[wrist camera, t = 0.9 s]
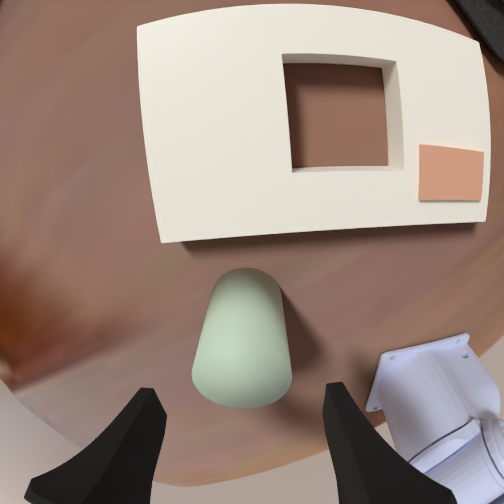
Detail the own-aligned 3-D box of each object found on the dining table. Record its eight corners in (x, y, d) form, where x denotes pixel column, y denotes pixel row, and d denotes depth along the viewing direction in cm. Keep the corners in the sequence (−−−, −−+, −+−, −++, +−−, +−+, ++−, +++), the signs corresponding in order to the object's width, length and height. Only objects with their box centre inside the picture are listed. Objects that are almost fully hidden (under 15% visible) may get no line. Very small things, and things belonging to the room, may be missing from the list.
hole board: (461, 46, 11) (481, 41, 9) (468, 212, 16) (487, 223, 14) (149, 36, 12) (134, 24, 10) (171, 230, 17) (159, 245, 15)
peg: (280, 265, 17) (292, 340, 11) (282, 324, 19) (291, 406, 13) (206, 270, 18) (181, 345, 11) (217, 328, 19) (202, 408, 13)
